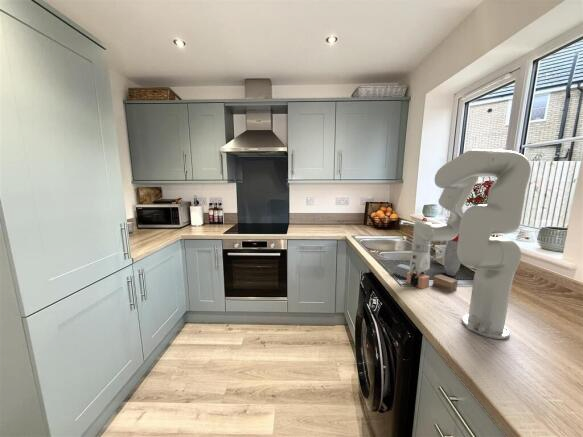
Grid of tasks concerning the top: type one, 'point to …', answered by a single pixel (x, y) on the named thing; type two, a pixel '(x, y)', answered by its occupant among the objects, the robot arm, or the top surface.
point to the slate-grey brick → (402, 270)
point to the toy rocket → (451, 257)
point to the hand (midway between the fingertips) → (417, 283)
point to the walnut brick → (445, 283)
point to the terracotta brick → (420, 280)
